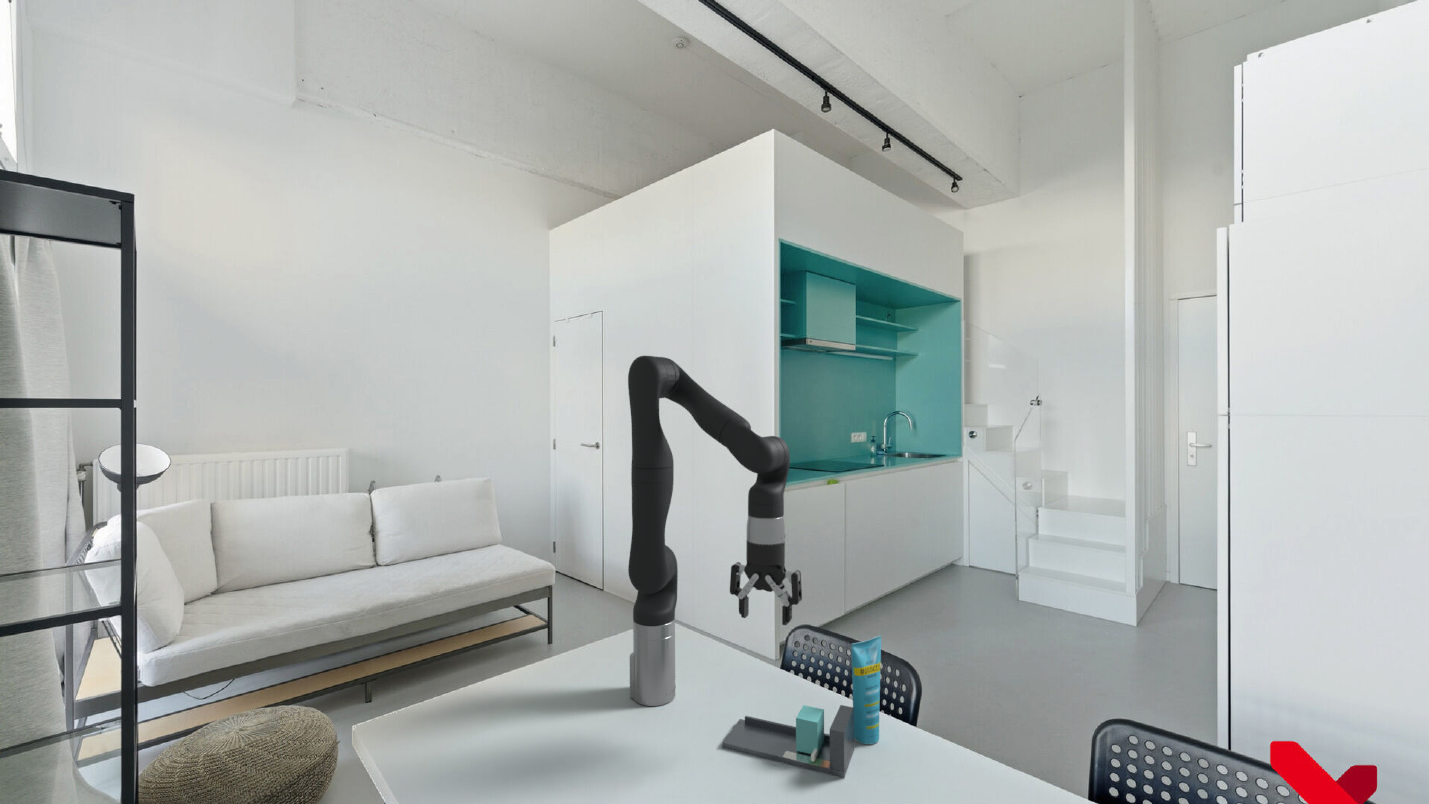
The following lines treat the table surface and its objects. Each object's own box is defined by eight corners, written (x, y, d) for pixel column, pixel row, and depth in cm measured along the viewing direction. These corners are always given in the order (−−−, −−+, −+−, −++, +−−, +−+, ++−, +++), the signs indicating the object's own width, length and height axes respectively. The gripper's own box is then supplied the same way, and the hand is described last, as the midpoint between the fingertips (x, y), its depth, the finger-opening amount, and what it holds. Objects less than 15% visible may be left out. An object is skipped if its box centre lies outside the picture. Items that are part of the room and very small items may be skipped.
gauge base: (722, 747, 113) (722, 705, 113) (739, 723, 121) (739, 684, 121) (844, 778, 103) (843, 732, 103) (854, 750, 112) (853, 707, 112)
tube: (862, 750, 112) (861, 647, 112) (843, 738, 116) (843, 639, 116) (889, 737, 116) (888, 638, 116) (870, 726, 120) (869, 630, 120)
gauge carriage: (792, 757, 107) (792, 724, 107) (803, 736, 114) (803, 705, 114) (814, 762, 106) (814, 729, 106) (824, 741, 112) (824, 709, 112)
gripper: (724, 538, 117) (724, 620, 117) (794, 546, 111) (794, 633, 111) (739, 530, 124) (739, 608, 124) (806, 537, 118) (805, 619, 118)
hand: (765, 620), depth 117 cm, fingers open, 8 cm apart
